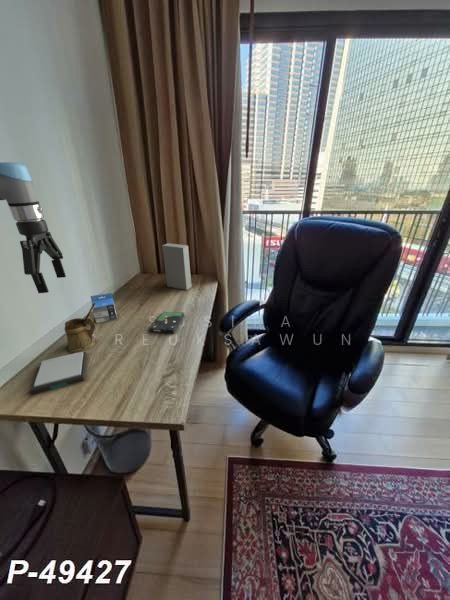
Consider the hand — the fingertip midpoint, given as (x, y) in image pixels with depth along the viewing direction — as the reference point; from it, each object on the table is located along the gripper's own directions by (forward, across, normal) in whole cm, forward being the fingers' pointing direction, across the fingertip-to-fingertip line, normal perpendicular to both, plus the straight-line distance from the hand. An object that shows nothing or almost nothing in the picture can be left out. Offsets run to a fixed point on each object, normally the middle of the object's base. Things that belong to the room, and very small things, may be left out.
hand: (53, 284), depth 86 cm
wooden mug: (+27, 0, -5) cm, 27 cm away
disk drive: (+27, +10, -35) cm, 45 cm away
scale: (+26, -16, -1) cm, 31 cm away
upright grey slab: (+27, +51, -40) cm, 70 cm away
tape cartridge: (+27, +19, -7) cm, 33 cm away
